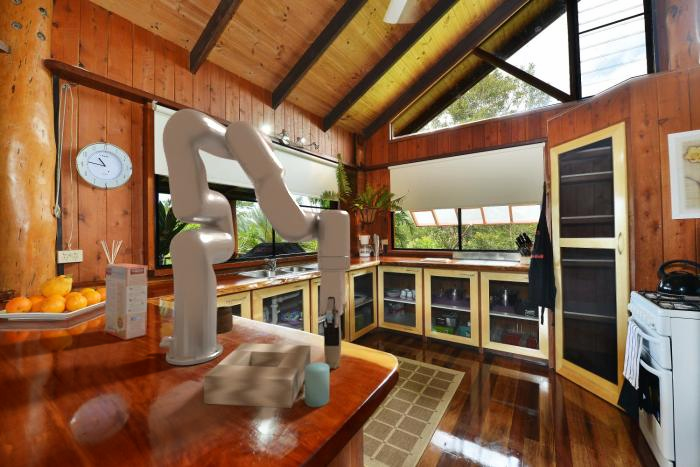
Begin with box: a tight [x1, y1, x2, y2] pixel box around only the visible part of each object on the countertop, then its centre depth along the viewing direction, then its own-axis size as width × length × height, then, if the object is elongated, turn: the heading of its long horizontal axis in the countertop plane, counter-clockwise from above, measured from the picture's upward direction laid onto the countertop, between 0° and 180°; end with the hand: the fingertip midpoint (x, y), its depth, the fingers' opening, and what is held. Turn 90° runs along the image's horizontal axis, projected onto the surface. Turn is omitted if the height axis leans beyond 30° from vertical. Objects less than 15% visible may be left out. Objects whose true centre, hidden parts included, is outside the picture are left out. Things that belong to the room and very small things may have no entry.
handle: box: [323, 300, 348, 370], centre depth 69 cm, size 5×6×15 cm
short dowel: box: [304, 361, 330, 408], centre depth 55 cm, size 4×4×6 cm
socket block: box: [203, 342, 311, 409], centre depth 61 cm, size 16×16×5 cm
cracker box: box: [104, 262, 149, 341], centre depth 90 cm, size 14×6×21 cm, turn 58°
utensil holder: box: [216, 295, 234, 334], centre depth 94 cm, size 6×6×12 cm
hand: (334, 337), depth 69 cm, fingers open, 9 cm apart
